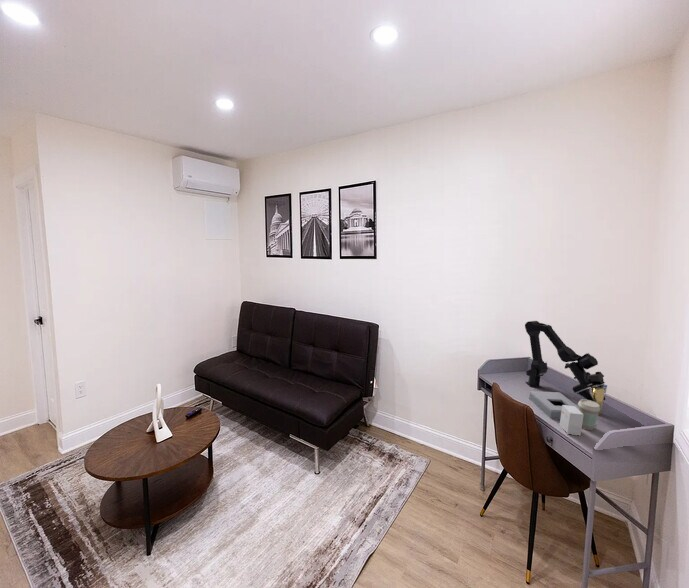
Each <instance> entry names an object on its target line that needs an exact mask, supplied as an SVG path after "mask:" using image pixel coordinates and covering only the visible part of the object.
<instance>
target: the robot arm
mask: <svg viewBox="0 0 689 588" xmlns="http://www.w3.org/2000/svg"><path fill="white" fill-rule="evenodd" d="M524 328H525V332H526V334H527V335H528V337H529V342H530V349H531V357H532V361H531V363H530V369H528V370H526V371H525V372H526V376H528V381H525V384H526V385H528V386H529V387H530V388H543V387H542V386H541V383H540V382H541V377H543V376H544V375H545V374H546V373H548V370H549V368H548V363H547V362H544V360H543V355H542V349H541V348H542V347H541V341H540V333H541V332H543V333H544V335H545V336H546V337H547V338H548V340H549V342H551V344H552V346H554V347H555V349H556V352H557V355H558V357H559V359H560V361H562V362H563V363H565V365H564V369H569V370H570V371H571V373H572V374H573V379H574V380H576V381H578V383H579V384H576V385H575V386H573V387H572V391H573V393H574V394H575V393H576V394H577V395H579V396H581V397H583V398H584V399H586V400H591V401H594V399H593V398H592V396H591V394H590V388H589V389H587V388H588V387H591V388H592V387H600V388H603V386H604V384H606V382H605V380H604V377H605V374H604V373H602V371H596V372H595V373H590V371H586V370H589V369H591V368H593V367H596V366H598V365H599V363H598V362H599V361H598V360H597V358H596V357H595V356H593V355H591V354H590V353H589V352H587V353H584V355H579V354H577V353H576V351H574V350H573V349H572V348H570V347H569V346H567V344H566V343H564V341H563V340H562V339H561V337H559V335H558V334H557V332H556V331H555V329H553V327H552V325H550V324H546V323H543V322H539V321H538V320H530V321H527V322H525V324H524ZM601 384H603V385H601ZM606 400H607V399H606V395H605V396H604V398H603V401H606ZM594 402H595V401H594Z"/></svg>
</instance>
